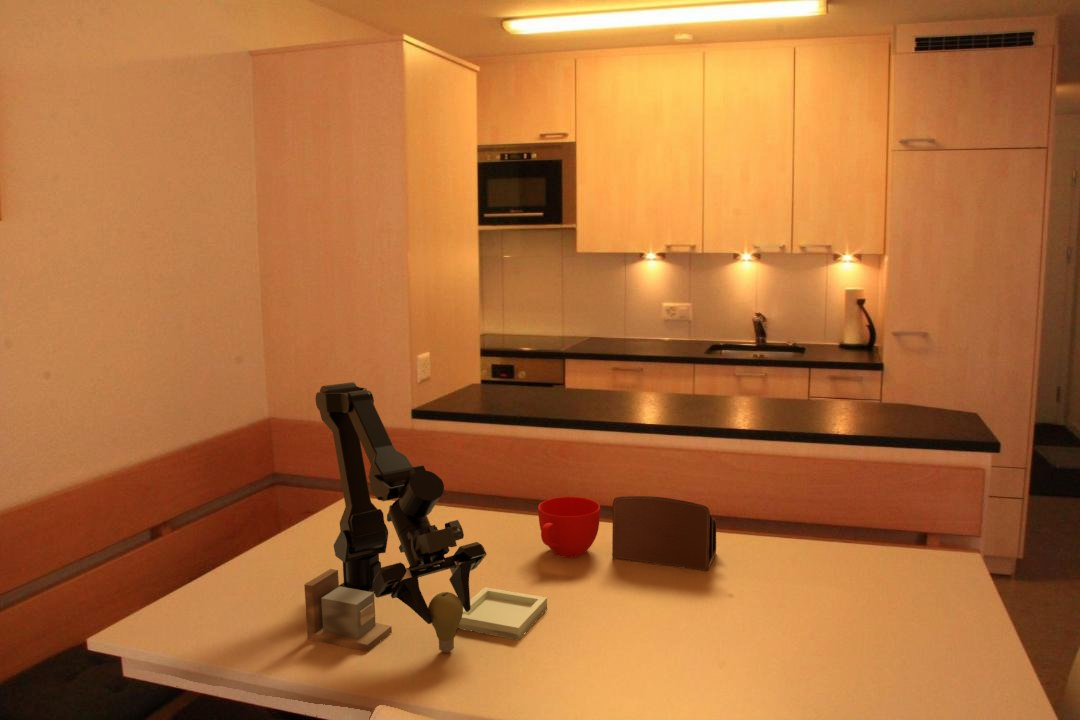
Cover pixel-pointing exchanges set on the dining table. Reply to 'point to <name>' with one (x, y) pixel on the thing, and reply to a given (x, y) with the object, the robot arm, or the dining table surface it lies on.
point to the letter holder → (663, 532)
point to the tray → (502, 613)
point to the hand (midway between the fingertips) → (449, 616)
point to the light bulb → (445, 618)
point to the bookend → (341, 614)
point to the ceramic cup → (569, 525)
